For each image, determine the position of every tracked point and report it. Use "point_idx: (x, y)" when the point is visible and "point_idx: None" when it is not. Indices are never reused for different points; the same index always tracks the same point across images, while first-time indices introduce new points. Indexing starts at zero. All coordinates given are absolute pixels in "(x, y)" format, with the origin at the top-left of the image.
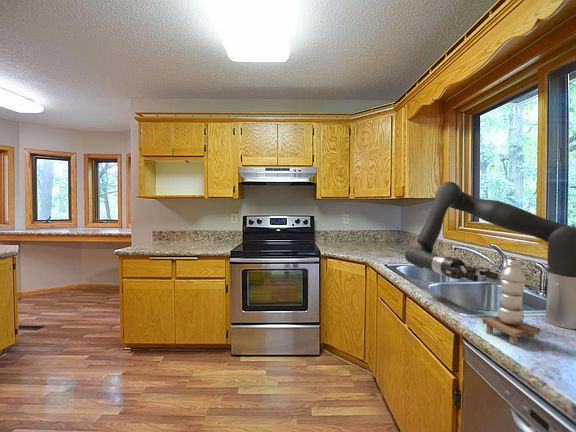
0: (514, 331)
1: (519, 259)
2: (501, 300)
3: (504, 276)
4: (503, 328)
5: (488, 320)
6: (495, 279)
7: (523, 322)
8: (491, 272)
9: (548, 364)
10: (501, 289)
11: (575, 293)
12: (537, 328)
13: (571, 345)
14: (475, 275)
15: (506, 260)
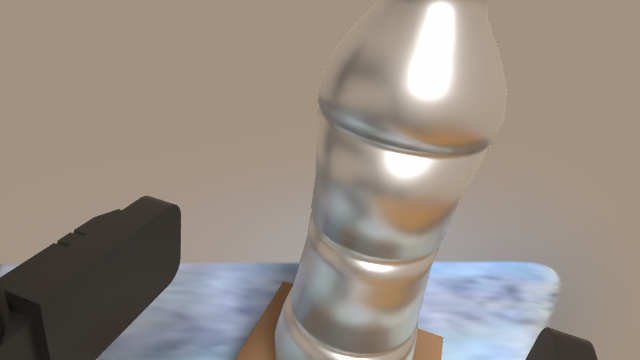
0: (428, 342)
1: None
2: (414, 303)
3: (504, 110)
4: None
5: None
6: (172, 275)
7: (253, 333)
8: (126, 240)
9: (440, 297)
10: (433, 236)
11: None
12: (290, 287)
13: (210, 263)
14: (591, 351)
15: None
